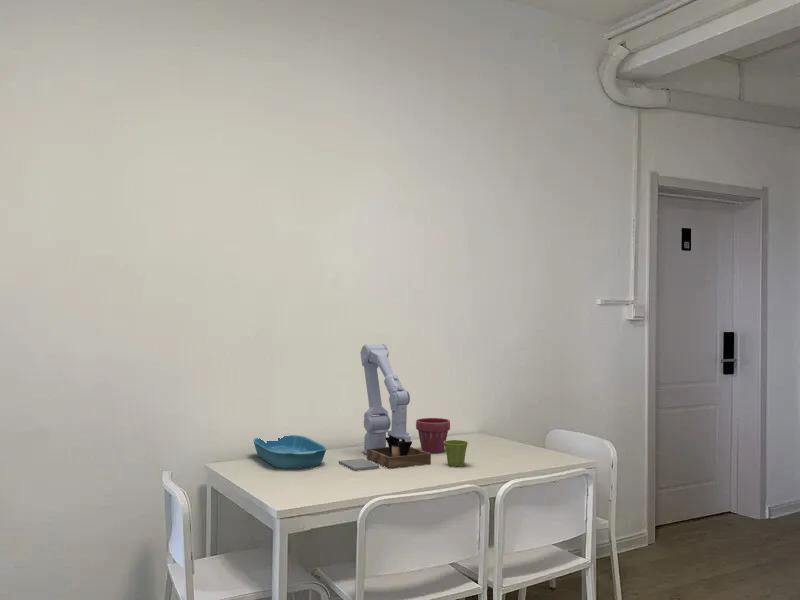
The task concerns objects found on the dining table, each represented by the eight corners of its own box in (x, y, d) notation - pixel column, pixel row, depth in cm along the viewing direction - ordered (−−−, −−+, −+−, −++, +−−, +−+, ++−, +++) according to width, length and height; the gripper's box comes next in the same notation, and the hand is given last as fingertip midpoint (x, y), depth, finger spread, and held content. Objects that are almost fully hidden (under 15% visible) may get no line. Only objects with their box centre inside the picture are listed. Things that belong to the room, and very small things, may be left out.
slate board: (338, 463, 274) (338, 460, 274) (362, 461, 279) (362, 458, 279) (354, 471, 262) (354, 468, 262) (379, 468, 267) (379, 465, 267)
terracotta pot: (389, 461, 280) (389, 445, 280) (400, 459, 282) (401, 444, 282) (395, 463, 275) (396, 447, 275) (407, 462, 278) (407, 446, 278)
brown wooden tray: (366, 459, 282) (367, 449, 282) (406, 455, 291) (407, 445, 291) (389, 468, 266) (389, 457, 266) (430, 464, 275) (430, 453, 275)
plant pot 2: (439, 465, 273) (439, 442, 273) (449, 461, 281) (449, 438, 281) (462, 468, 269) (462, 445, 269) (471, 464, 277) (472, 441, 277)
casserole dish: (334, 468, 267) (335, 448, 267) (276, 474, 256) (276, 454, 256) (299, 450, 299) (299, 432, 299) (246, 454, 289) (246, 436, 289)
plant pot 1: (409, 448, 304) (410, 418, 304) (439, 446, 310) (439, 416, 310) (425, 455, 291) (425, 423, 291) (455, 453, 297) (456, 421, 297)
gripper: (417, 424, 274) (417, 460, 274) (398, 418, 287) (398, 453, 287) (401, 425, 271) (400, 461, 271) (383, 419, 284) (382, 454, 284)
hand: (398, 457), depth 279 cm, fingers open, 7 cm apart
